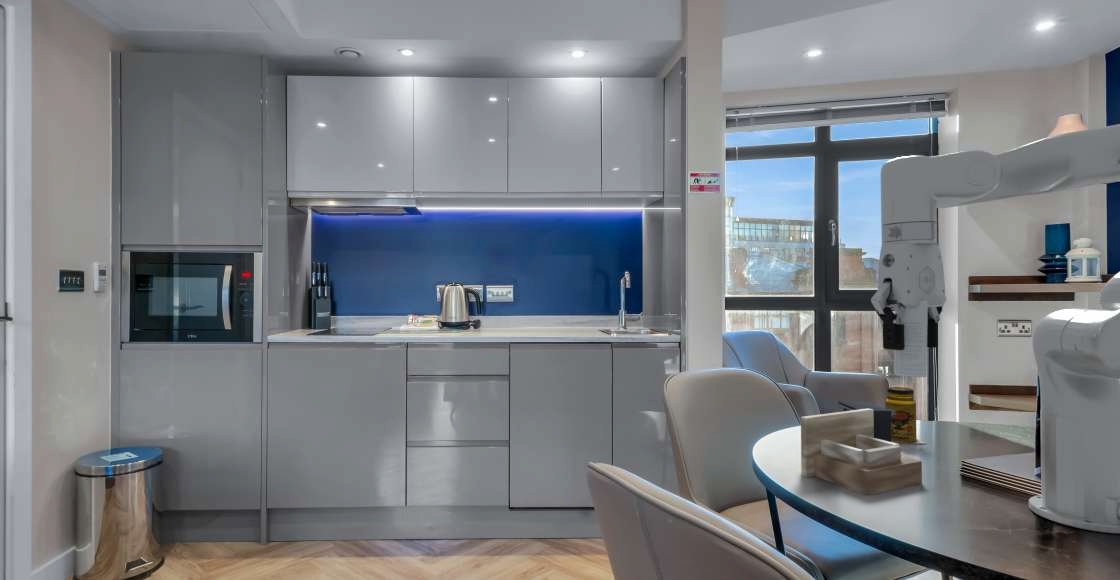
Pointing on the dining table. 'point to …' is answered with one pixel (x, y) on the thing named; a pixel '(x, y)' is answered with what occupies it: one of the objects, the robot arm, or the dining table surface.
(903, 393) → the condiment
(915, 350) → the skincare box
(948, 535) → the dining table surface
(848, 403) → the small box
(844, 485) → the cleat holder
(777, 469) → the dining table surface
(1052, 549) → the dining table surface
